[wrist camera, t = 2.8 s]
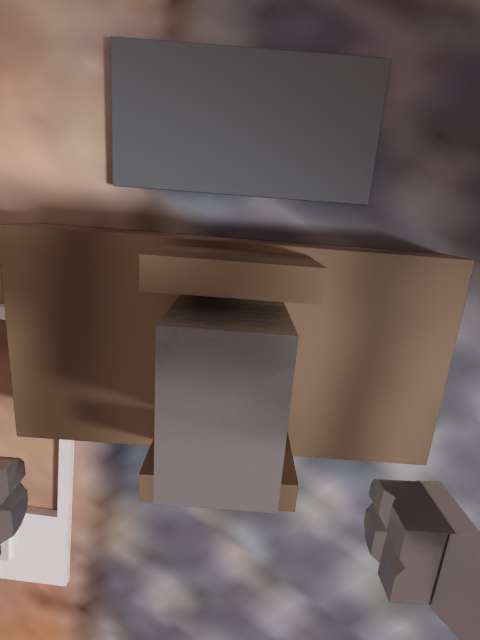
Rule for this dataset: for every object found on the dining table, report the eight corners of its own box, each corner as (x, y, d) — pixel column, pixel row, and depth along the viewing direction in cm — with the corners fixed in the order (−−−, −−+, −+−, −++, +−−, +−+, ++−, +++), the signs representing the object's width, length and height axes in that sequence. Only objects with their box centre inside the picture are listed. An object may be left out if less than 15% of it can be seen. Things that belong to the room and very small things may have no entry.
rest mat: (388, 62, 17) (391, 58, 16) (365, 204, 18) (368, 204, 18) (113, 40, 17) (110, 36, 16) (115, 185, 18) (112, 185, 18)
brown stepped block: (439, 253, 19) (548, 275, 12) (401, 431, 22) (473, 530, 15) (35, 222, 19) (-84, 227, 12) (47, 406, 21) (-44, 494, 15)
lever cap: (279, 293, 16) (298, 336, 11) (267, 417, 18) (277, 512, 12) (187, 286, 16) (155, 325, 11) (182, 411, 18) (153, 504, 12)
